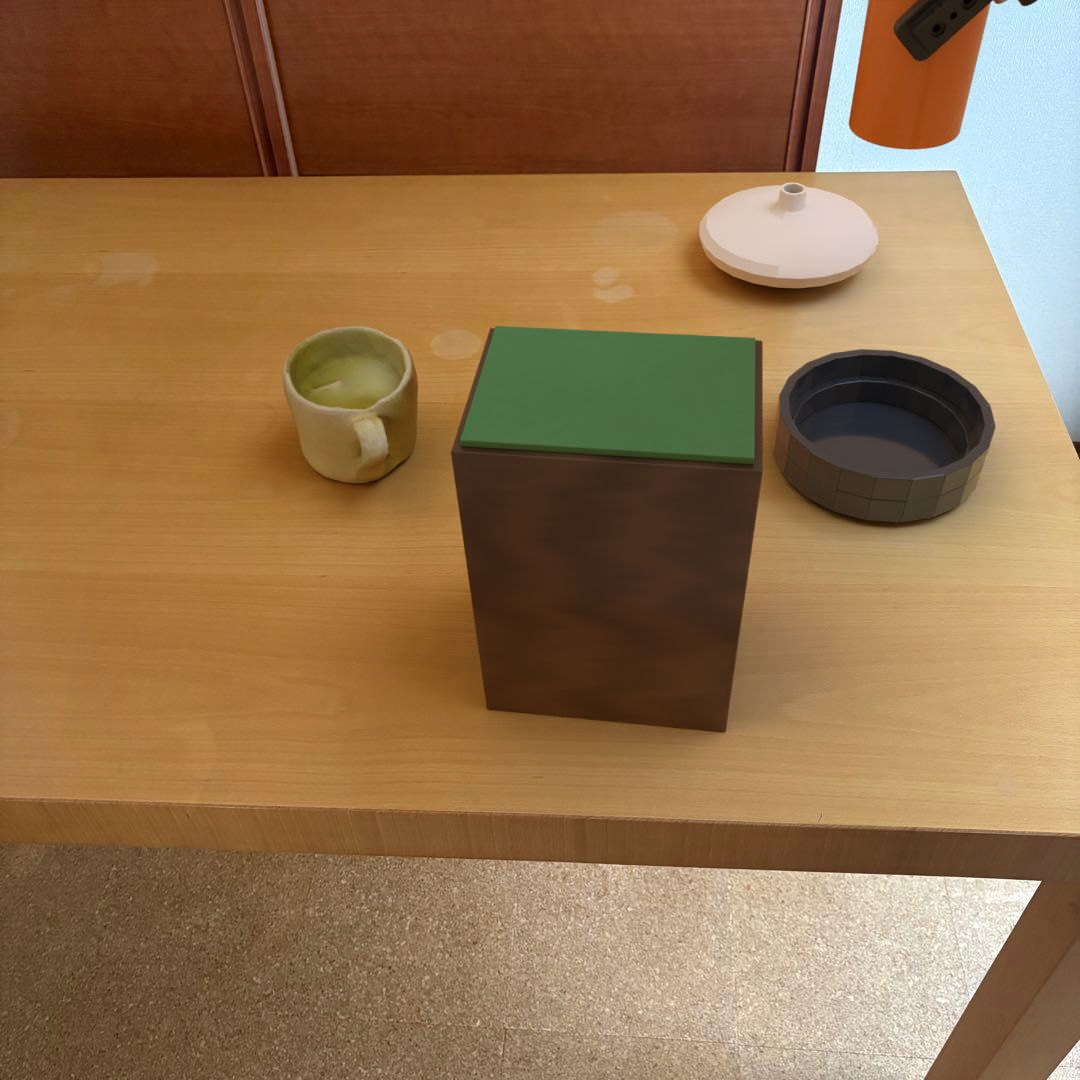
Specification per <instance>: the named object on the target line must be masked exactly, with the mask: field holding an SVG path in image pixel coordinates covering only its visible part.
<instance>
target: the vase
mask: <svg viewBox="0 0 1080 1080" xmlns="http://www.w3.org/2000/svg"><path fill="white" fill-rule="evenodd" d="M698 236H699V237H698V238H699V241H700V244H701V247H702V248H703V251H704V253H705V255H706V258H708V260H709V261H711V263H713V264H714V265H715V267H717V268H718V269H719V270H721V271H723V272H725V273H727V274H728V275H730V276H732V277H734V278H735V279H736V278H737V279H740V280H743V281H745V282H748V283H751V284H754V285H760V286H767V287H772V288H778V289H779V288H781V289H782V288H784V289H805V288H806V289H807V288H816V287H824V286H826V285H827V286H828V285H831V284H834V283H837V282H838V283H839V282H841V281H844V280H846V279H848V278H850V277H852V276H854V275H855V274H857V273H859V272H860V271H861V270H862V269H863V268H864V267H865V266H867V264H868V263H869V262H870V260H871V258H872V256H873V255H874V253H875V251H876V249H877V245H878V244H879V240H880V239H879V233H878V228H877V227H876V225H875V223H874V222H873V221H872V219H871V218H870V216H869V215H868V214H867V212H866V211H865V210H864V209H863V208H862V207H861V206H859V205H858V204H857V203H855V202H853V201H852V200H851V199H848V198H846V197H844V196H842V195H839V194H838V193H835V192H831V191H827V190H824V189H821V188H817V187H811V186H806V185H804V184H802V183H799V182H786V183H784V184H775V185H774V184H773V185H765V186H755V187H752V188H747V189H744V190H740V191H737V192H735V193H732V194H730V195H728V196H726V197H723V198H722V199H720V200H719V201H718V202H717V203H715V204H714V205H713V206H712V207H710V209H708V210H707V212H706V213H705V214H704V215H703V217H702V219H701V220H700V223H699V229H698Z"/></svg>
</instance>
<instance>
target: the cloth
mask: <svg viewBox="0 0 1080 1080" xmlns="http://www.w3.org/2000/svg"><path fill="white" fill-rule="evenodd" d="M494 328H495V330H494V333H493V336H492V339H491V343H490V346H489V349H488V352H487V355H486V359H485V362H484V365H483V368H482V371H481V375H480V378H479V381H478V384H477V387H476V391H475V394H474V397H473V400H472V403H471V407H470V410H469V413H468V416H467V419H466V423H465V426H464V429H463V432H462V435H461V439H460V444H461V446H465V447H481V448H497V449H513V450H529V451H545V452H561V453H577V454H593V455H609V456H625V457H641V458H658V459H674V460H690V461H706V462H722V463H738V464H754V458H755V340H756V337H745V336H744V337H743V336H726V335H725V336H724V335H723V336H722V335H718V336H717V335H703V334H702V335H701V334H700V335H699V334H682V333H681V334H679V333H678V334H677V333H658V332H657V333H655V332H636V331H635V332H633V331H617V330H615V331H614V330H613V331H612V330H592V329H572V328H550V327H549V328H548V327H527V326H507V325H506V326H505V325H495V327H494Z"/></svg>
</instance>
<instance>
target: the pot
mask: <svg viewBox="0 0 1080 1080" xmlns="http://www.w3.org/2000/svg"><path fill="white" fill-rule="evenodd" d="M778 395H779V396H778V402H777V407H776V408H777V409H776V416H775V422H774V429H773V436H772V439H773V440H772V443H773V445H772V447H773V449H772V451H773V458H774V459H775V461H776V464H777V466H778V467H779V469H780V471H781V473H782V476H783V477H784V479H786V480H787V481H788V482H789V483H790V484H791V485H792V486H793V487H794V488H795V489H796V490H797V491H798V492H799V493H800V494H801V495H803V496H804V498H805V497H806V498H808V499H809V500H811V501H813V502H815V503H816V504H819V505H820V506H822V507H824V508H826V509H828V510H830V511H831V512H834V513H839V514H842V515H845V516H849V517H852V518H856V519H860V520H864V521H872V522H890V523H905V522H912V521H913V522H914V521H919V520H925V519H931V518H935V517H937V516H939V515H942V514H944V513H946V512H948V511H951V510H952V509H955V508H957V507H958V506H960V505H961V504H962V503H963V502H964V501H965V500H966V499H967V498H968V497H969V496H970V495H971V494H972V493H973V492H974V491H975V490H976V488H977V485H978V483H979V480H980V477H981V473H982V470H983V468H984V464H985V461H986V458H987V457H988V453H989V450H990V447H991V443H992V440H993V437H994V433H995V430H996V423H995V422H996V421H995V418H994V414H993V410H992V406H991V404H990V403H989V401H988V400H987V399H986V398H985V396H984V395H983V394H982V392H981V391H980V390H979V389H978V387H977V386H976V385H975V384H973V383H972V382H971V381H969V380H968V379H966V378H965V377H964V376H962V375H960V374H959V373H958V372H956V371H955V370H953V369H951V368H949V367H948V366H945V365H942V364H940V363H938V362H935V361H933V360H931V359H928V358H926V357H923V356H920V355H915V354H911V353H906V352H902V351H901V352H900V351H897V350H891V349H890V350H889V349H870V348H869V349H868V348H859V349H858V348H857V349H851V350H845V351H838V352H837V351H836V352H831V353H829V354H826V355H823V356H821V357H818V358H815V359H812V360H809V361H807V362H806V363H805V364H803V365H802V366H801V367H799V368H798V369H797V370H796V371H794V372H793V373H792V374H790V375H789V376H788V377H787V380H786V381H785V383H784V385H783V387H782V389H781V391H780V393H779V394H778Z"/></svg>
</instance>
